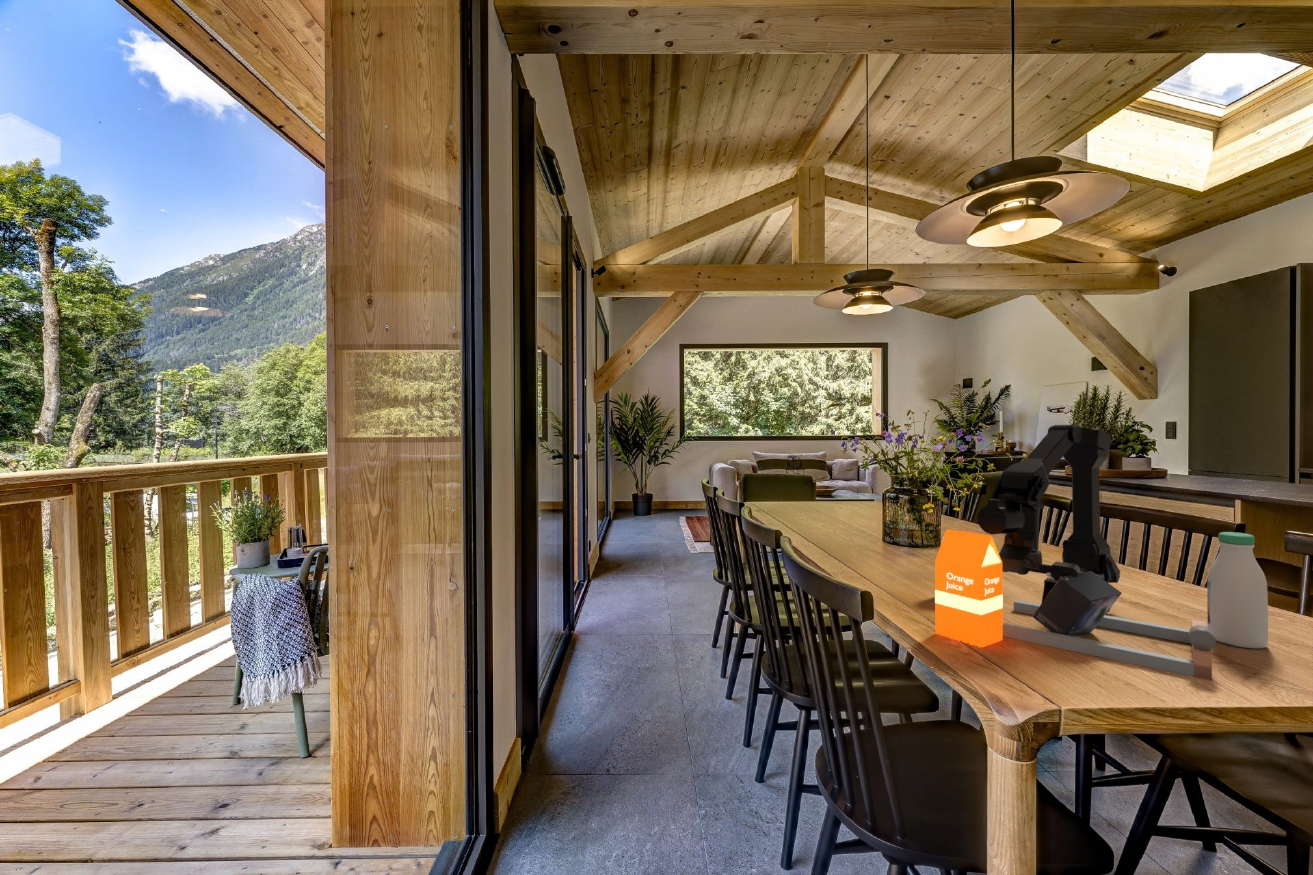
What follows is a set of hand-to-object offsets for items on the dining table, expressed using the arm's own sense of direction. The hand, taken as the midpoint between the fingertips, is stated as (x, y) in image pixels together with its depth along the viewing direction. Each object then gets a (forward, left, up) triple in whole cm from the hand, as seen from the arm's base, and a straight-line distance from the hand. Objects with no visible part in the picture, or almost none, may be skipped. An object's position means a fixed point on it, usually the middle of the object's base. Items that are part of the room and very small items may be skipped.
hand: (1020, 607), depth 112 cm
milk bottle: (-16, +31, -3) cm, 35 cm away
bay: (0, +12, -3) cm, 13 cm away
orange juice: (+15, -6, -4) cm, 16 cm away
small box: (0, +7, -2) cm, 7 cm away
